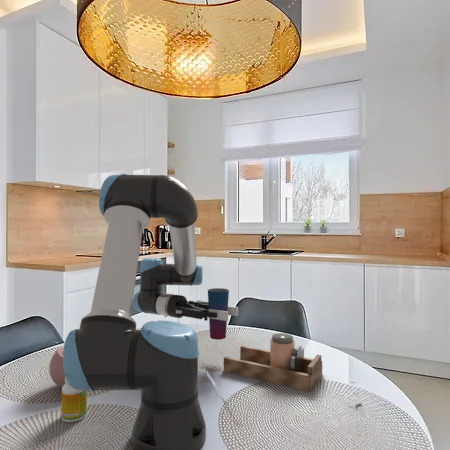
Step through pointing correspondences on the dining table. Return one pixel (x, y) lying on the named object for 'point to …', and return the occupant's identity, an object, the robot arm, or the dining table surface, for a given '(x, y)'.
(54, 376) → the pink round piece
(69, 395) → the supplement bottle
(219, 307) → the cup
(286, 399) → the dining table surface
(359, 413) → the spoon
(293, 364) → the pusher
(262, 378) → the wooden tray
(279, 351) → the jar
